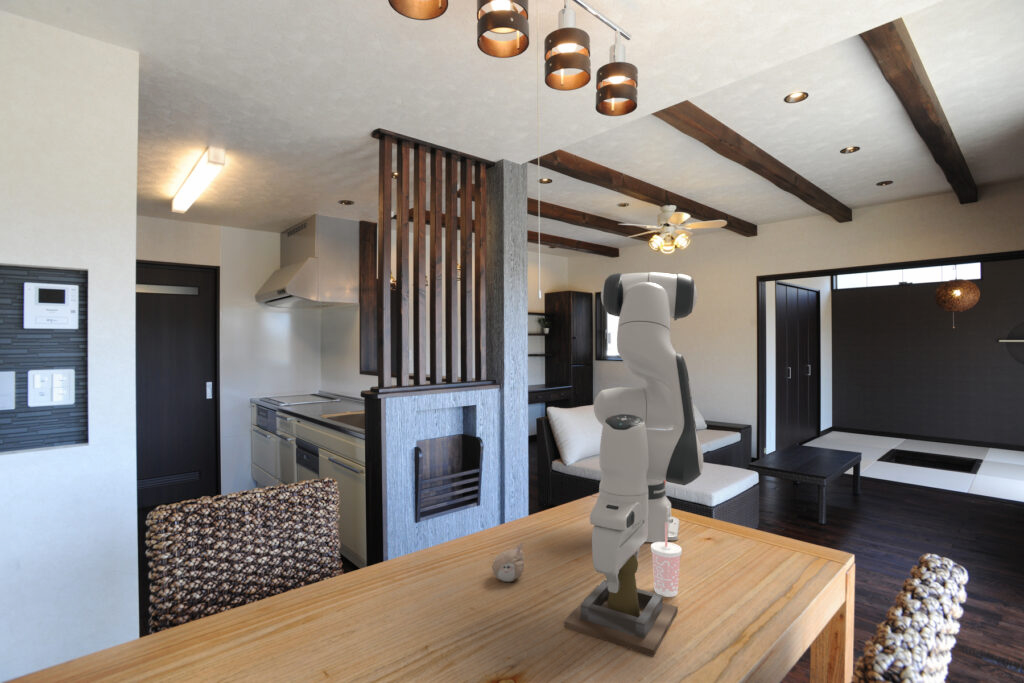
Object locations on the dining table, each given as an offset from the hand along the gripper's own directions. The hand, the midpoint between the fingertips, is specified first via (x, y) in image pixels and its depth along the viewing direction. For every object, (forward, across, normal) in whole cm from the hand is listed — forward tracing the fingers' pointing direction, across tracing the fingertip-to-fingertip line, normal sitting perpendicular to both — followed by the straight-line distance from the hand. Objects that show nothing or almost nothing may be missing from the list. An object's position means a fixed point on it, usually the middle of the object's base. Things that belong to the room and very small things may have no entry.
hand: (622, 580), depth 92 cm
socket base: (+7, 0, 0) cm, 7 cm away
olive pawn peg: (+6, 0, 0) cm, 6 cm away
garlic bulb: (+7, -2, -26) cm, 27 cm away
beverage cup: (+7, -15, +4) cm, 17 cm away
